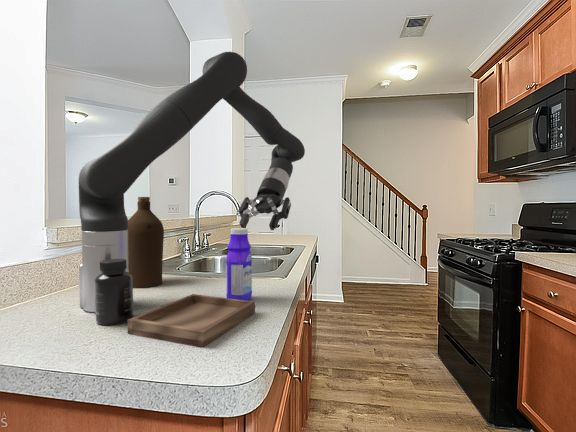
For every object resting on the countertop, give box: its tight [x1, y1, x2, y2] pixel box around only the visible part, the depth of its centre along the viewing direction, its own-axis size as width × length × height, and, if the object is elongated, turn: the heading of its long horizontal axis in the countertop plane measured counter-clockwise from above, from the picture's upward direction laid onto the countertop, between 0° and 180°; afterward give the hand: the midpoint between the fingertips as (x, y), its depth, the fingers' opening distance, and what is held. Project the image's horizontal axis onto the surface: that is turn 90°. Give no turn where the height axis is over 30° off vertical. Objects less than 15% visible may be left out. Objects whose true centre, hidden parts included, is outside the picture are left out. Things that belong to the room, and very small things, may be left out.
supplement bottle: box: [94, 259, 135, 326], centre depth 69 cm, size 7×7×12 cm
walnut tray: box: [127, 293, 256, 348], centre depth 69 cm, size 16×19×2 cm
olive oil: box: [128, 196, 165, 289], centre depth 99 cm, size 11×11×25 cm
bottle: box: [225, 227, 253, 301], centre depth 84 cm, size 7×6×17 cm
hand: (256, 227), depth 93 cm, fingers open, 8 cm apart
